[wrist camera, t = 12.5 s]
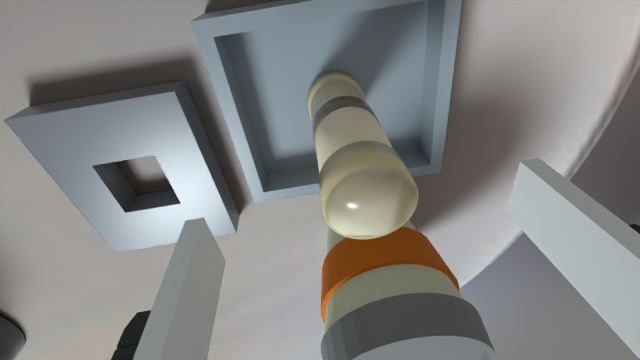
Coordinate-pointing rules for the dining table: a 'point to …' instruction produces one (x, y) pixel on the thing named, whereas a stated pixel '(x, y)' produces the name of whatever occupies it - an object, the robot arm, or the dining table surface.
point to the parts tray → (322, 56)
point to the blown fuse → (357, 162)
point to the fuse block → (123, 144)
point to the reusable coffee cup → (395, 302)
